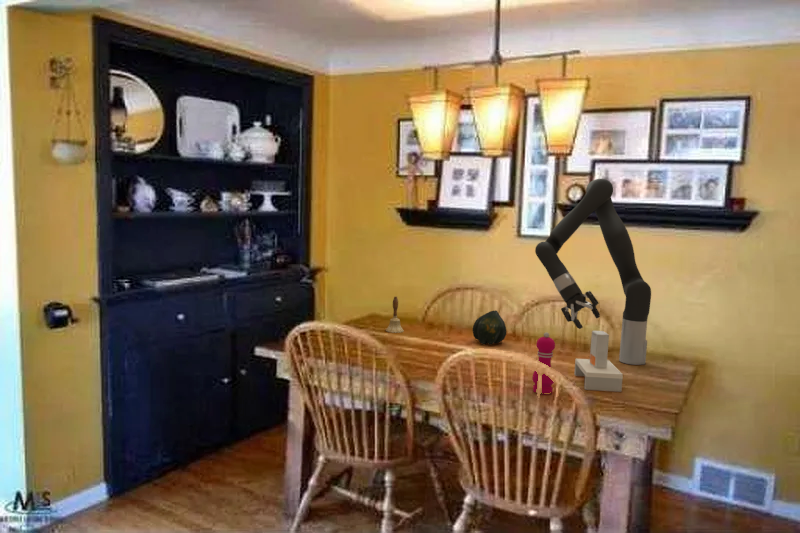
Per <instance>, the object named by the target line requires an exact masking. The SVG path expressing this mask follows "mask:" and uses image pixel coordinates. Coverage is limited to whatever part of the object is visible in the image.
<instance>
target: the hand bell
mask: <svg viewBox="0 0 800 533" xmlns="http://www.w3.org/2000/svg"><path fill="white" fill-rule="evenodd" d="M392 308H393V313H392V314H393V315H392V318H390V320H389V325H388V326H387V328H386V329H385V331H386V332H387V333H392V334H399V333H403V332H404V329H403V327H402V326H401V320H400V318H398V308H399V299H398V296H394V297H393V301H392Z"/></svg>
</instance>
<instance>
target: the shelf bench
mask: <svg viewBox="0 0 800 533" xmlns="http://www.w3.org/2000/svg"><path fill="white" fill-rule="evenodd" d="M574 362H575V363H574V374H573V375H574V376H575V377H576V376H577V377H584V387H583V388H584V390H585V391H587V390H588V391H600V392H601V391H605V392H621V393H622V391H623V390H622V389H623V379H624V378H623V375H624V373H622V372H621V371H620V370H619V369H618V368H617V367H616V366H615V365H614V364H613V363H612V362H611V361H610V359H607V368H595V367H594V366H593V365H591V364H590V358H575V361H574Z"/></svg>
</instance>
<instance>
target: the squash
mask: <svg viewBox="0 0 800 533" xmlns="http://www.w3.org/2000/svg"><path fill="white" fill-rule="evenodd" d="M471 331H472V335H473V337H474V339H475V340H477V341H479V343H480V344H482V345H483V344H485V345H489V346H491V345H493V344H499V343H501V342H503V341H504V340H505V338H506V336H507V326H506V324H505V321H504V319H503V318H502V316H501V315H500V312H498V310H491V311H488V312H487V313H486V312H485V313H484V314H482V315H481V316H479V317H478V318H477V319H475V321H474V323H473V326H472V330H471Z"/></svg>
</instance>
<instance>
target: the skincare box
mask: <svg viewBox="0 0 800 533" xmlns="http://www.w3.org/2000/svg"><path fill="white" fill-rule="evenodd" d="M609 340H610V334H608V333H607V332H605V331H604V330H591V340H590V351H589V352H590V353H589V359H590V364H591V365H593V366H594V367H595V368H607V360H608V355H609V354H608V353H609V352H608V351H609V342H610V341H609Z"/></svg>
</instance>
